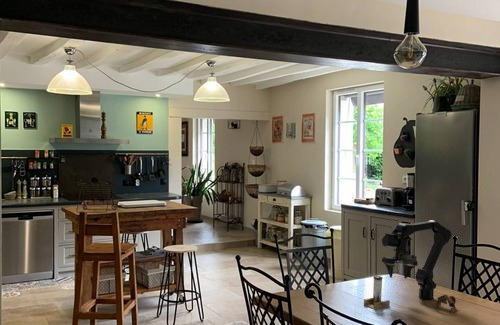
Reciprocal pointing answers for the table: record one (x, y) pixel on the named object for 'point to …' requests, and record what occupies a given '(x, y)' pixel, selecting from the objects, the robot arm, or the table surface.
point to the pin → (377, 289)
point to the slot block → (376, 304)
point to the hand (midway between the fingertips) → (398, 278)
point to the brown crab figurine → (444, 300)
